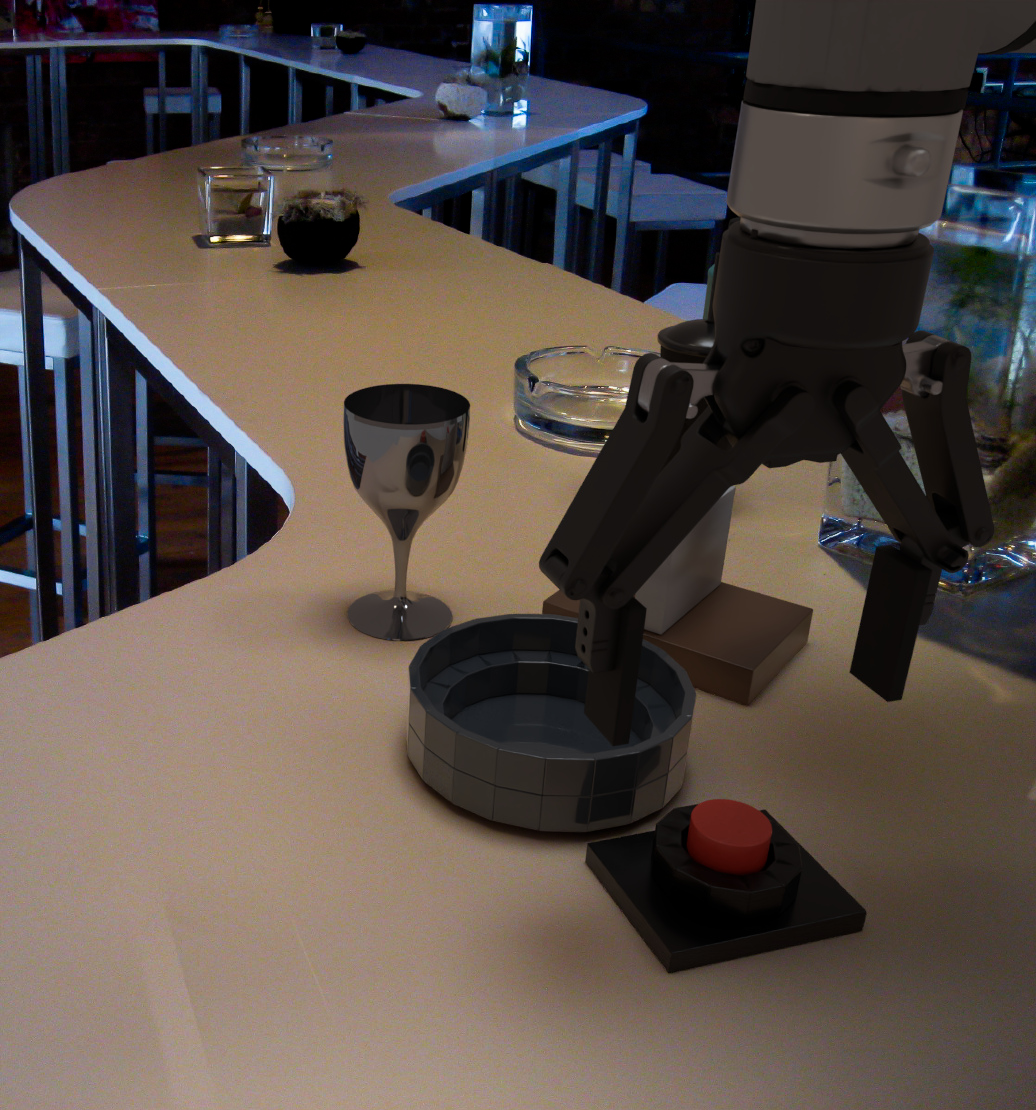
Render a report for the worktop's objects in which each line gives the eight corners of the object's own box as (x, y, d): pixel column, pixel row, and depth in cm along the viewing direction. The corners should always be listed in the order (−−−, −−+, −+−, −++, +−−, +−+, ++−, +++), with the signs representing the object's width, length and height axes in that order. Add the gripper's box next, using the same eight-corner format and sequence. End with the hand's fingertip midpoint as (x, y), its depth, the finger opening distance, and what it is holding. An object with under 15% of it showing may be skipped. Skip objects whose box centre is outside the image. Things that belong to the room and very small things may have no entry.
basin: (601, 670, 81) (609, 599, 79) (739, 813, 68) (753, 732, 66) (370, 706, 77) (371, 632, 75) (468, 864, 64) (473, 780, 62)
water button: (738, 822, 63) (743, 793, 62) (782, 869, 60) (788, 838, 59) (671, 835, 62) (676, 805, 61) (713, 883, 59) (718, 852, 58)
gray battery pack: (692, 575, 87) (706, 475, 84) (721, 584, 86) (736, 482, 83) (631, 625, 81) (644, 519, 78) (661, 635, 80) (675, 527, 77)
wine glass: (394, 577, 93) (400, 375, 86) (482, 614, 88) (496, 403, 81) (316, 614, 88) (317, 403, 81) (405, 656, 83) (413, 434, 76)
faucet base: (807, 642, 84) (814, 608, 83) (747, 706, 77) (753, 670, 76) (610, 581, 92) (614, 549, 91) (539, 634, 85) (542, 600, 84)
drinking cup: (659, 476, 110) (689, 238, 101) (749, 496, 106) (788, 251, 97) (623, 505, 104) (651, 256, 96) (717, 528, 100) (755, 270, 92)
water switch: (761, 828, 67) (770, 779, 65) (863, 931, 60) (875, 879, 58) (584, 862, 64) (590, 812, 63) (668, 974, 57) (677, 921, 56)
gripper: (570, 266, 43) (521, 798, 52) (1180, 227, 49) (1039, 711, 58) (481, 223, 49) (451, 702, 58) (1028, 193, 55) (924, 632, 64)
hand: (744, 707), depth 58 cm, fingers open, 13 cm apart
